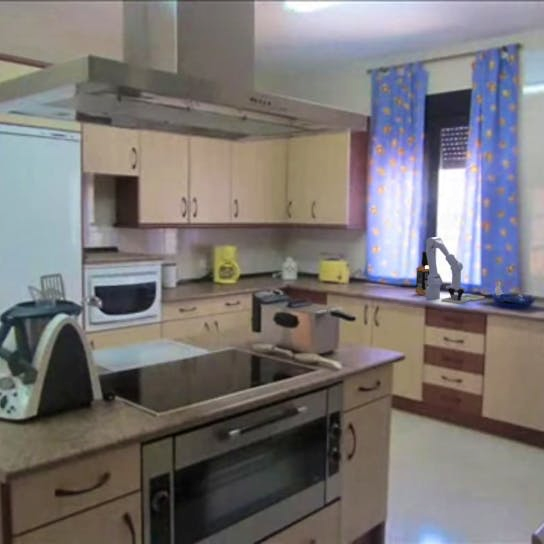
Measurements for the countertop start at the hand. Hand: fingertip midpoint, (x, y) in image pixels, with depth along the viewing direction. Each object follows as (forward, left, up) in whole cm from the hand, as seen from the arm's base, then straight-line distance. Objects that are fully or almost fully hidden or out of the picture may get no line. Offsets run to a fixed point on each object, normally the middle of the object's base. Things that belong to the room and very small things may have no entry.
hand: (456, 299), depth 413 cm
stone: (0, 0, -1) cm, 1 cm away
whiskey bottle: (-36, +18, -2) cm, 41 cm away
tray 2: (+3, +14, -2) cm, 15 cm away
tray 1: (0, 0, -2) cm, 2 cm away
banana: (+27, +22, -2) cm, 35 cm away
